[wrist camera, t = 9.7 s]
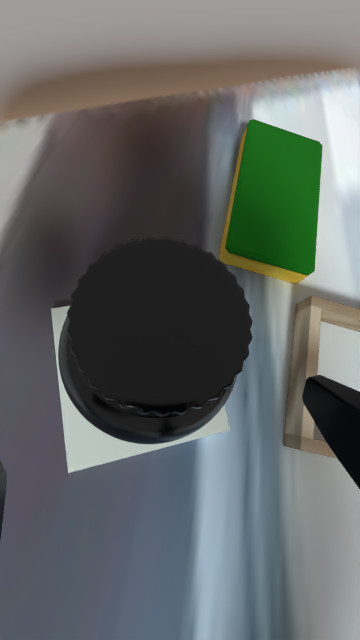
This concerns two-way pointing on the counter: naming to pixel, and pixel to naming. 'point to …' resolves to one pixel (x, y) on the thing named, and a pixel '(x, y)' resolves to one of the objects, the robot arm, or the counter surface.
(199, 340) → the supplement bottle
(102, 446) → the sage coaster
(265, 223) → the dish sponge
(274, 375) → the counter surface
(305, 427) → the frame
